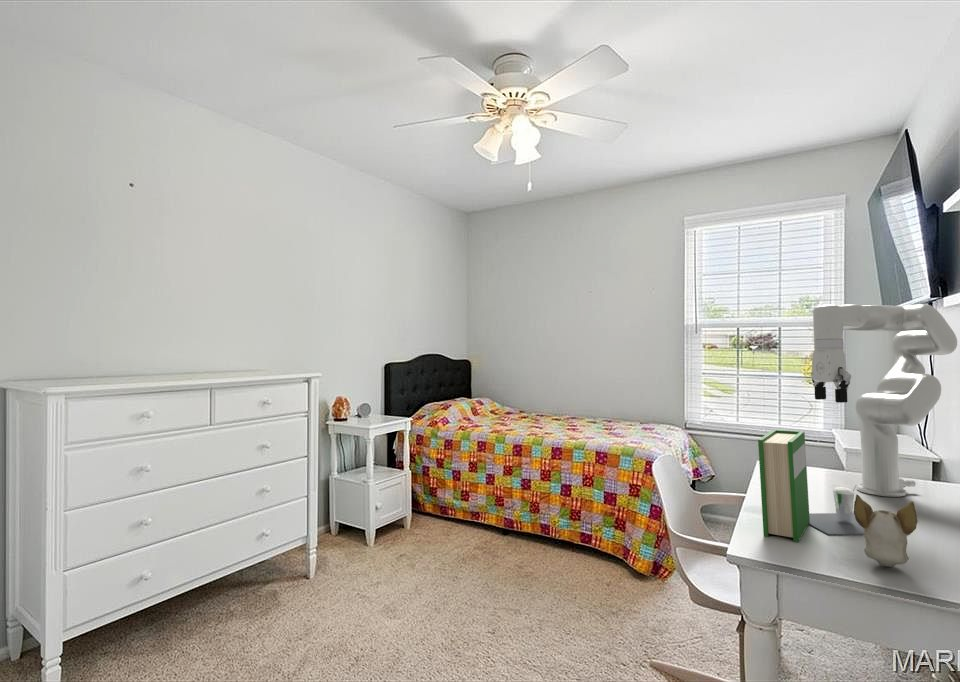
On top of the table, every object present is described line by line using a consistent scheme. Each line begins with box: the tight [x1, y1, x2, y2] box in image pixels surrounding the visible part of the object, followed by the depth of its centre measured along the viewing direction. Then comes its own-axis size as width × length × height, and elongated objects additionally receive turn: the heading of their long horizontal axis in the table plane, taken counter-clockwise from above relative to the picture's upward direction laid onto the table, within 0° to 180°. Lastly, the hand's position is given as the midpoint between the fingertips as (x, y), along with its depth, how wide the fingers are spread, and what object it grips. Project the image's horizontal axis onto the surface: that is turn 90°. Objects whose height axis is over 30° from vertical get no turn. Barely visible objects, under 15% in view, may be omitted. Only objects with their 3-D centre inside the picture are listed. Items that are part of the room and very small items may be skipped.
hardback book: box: [757, 429, 810, 543], centre depth 133 cm, size 18×7×24 cm, turn 140°
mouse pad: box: [808, 512, 911, 536], centre depth 136 cm, size 20×16×1 cm
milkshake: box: [832, 484, 857, 524], centre depth 136 cm, size 4×5×10 cm
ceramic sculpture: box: [853, 494, 919, 568], centre depth 109 cm, size 11×9×15 cm
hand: (830, 400), depth 158 cm, fingers open, 9 cm apart
